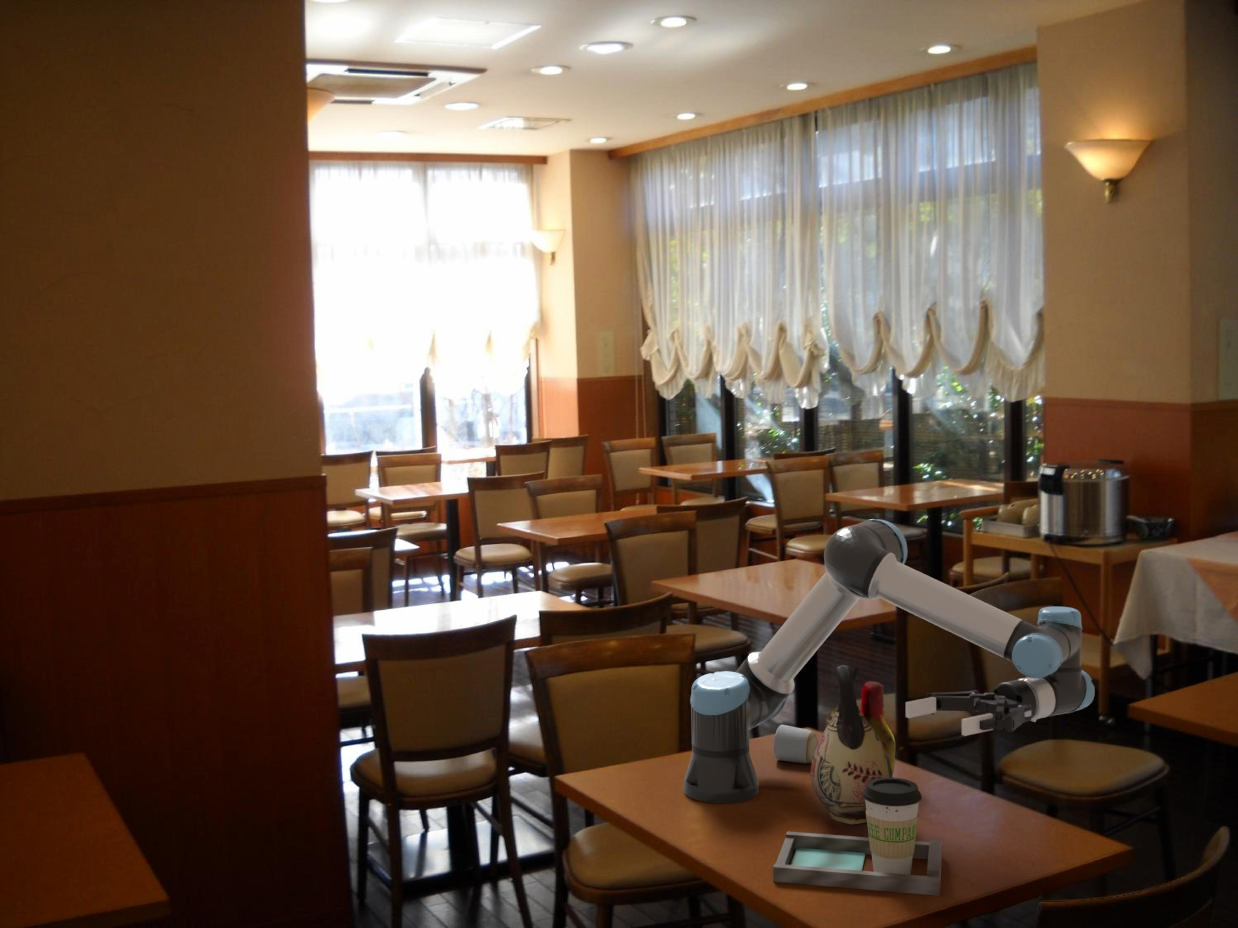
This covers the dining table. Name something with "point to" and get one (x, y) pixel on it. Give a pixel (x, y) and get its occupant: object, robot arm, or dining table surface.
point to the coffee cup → (892, 823)
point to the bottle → (877, 716)
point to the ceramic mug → (794, 744)
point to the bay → (851, 864)
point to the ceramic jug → (847, 756)
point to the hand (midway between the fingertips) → (934, 718)
